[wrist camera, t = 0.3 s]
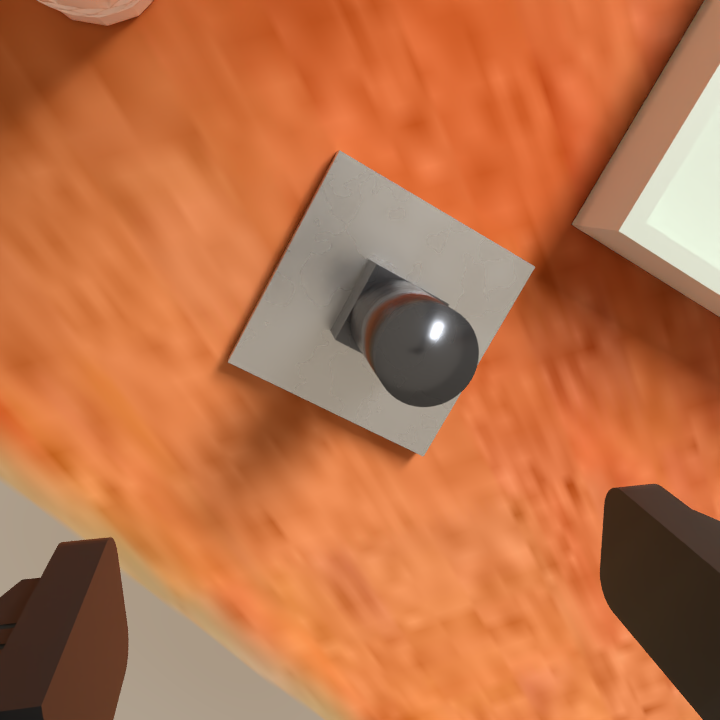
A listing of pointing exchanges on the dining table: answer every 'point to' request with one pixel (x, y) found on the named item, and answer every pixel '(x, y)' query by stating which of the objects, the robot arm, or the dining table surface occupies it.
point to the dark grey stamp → (408, 338)
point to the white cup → (99, 9)
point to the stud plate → (337, 279)
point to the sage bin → (670, 173)
